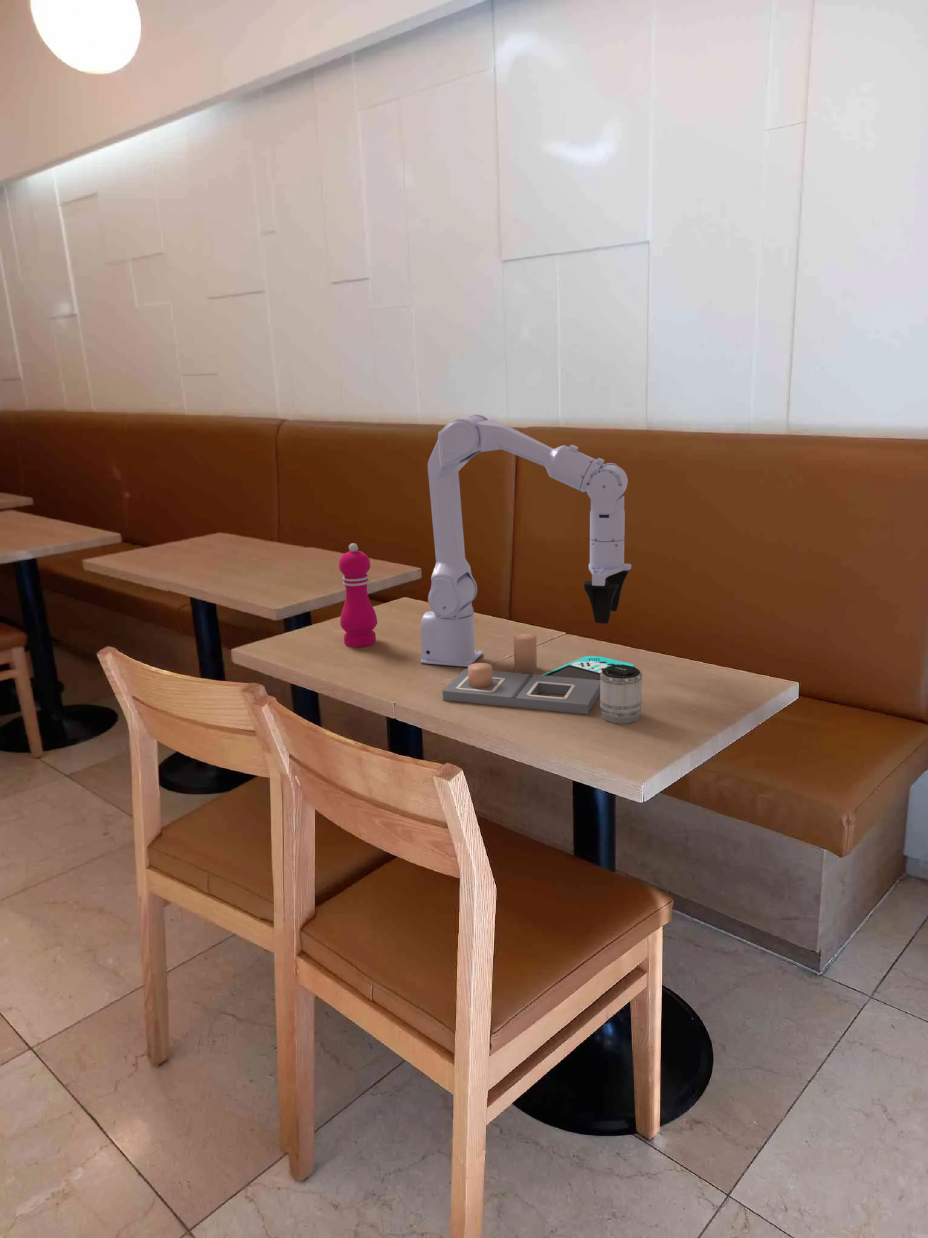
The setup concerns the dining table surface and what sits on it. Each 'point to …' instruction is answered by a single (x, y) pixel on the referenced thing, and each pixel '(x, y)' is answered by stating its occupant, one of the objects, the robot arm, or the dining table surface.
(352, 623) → the pepper mill
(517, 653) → the terracotta pin
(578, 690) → the board
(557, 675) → the handheld game console
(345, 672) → the dining table surface
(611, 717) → the camera lens
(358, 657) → the dining table surface
